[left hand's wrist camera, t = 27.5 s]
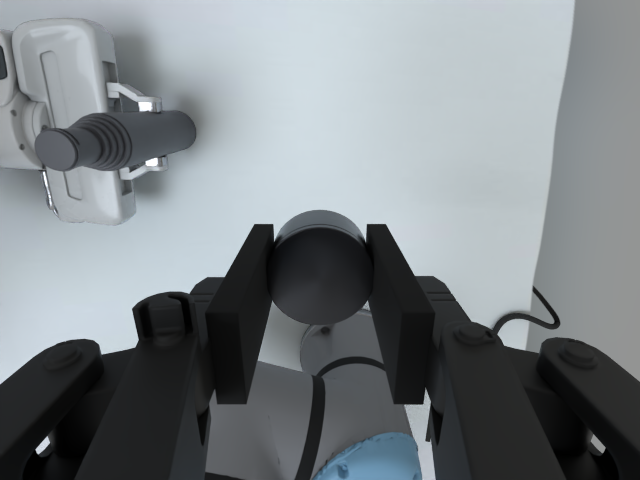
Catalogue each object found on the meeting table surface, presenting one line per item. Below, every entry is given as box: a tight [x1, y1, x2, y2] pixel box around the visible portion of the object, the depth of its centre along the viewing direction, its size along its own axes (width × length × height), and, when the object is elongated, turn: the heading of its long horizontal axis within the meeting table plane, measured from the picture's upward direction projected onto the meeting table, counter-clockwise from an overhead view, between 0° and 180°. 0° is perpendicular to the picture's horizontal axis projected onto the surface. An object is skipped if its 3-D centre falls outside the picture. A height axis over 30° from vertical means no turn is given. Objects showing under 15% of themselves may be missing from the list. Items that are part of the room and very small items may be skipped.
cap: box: [266, 210, 374, 325], centre depth 13 cm, size 4×4×2 cm
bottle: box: [34, 111, 196, 172], centre depth 33 cm, size 5×5×21 cm
